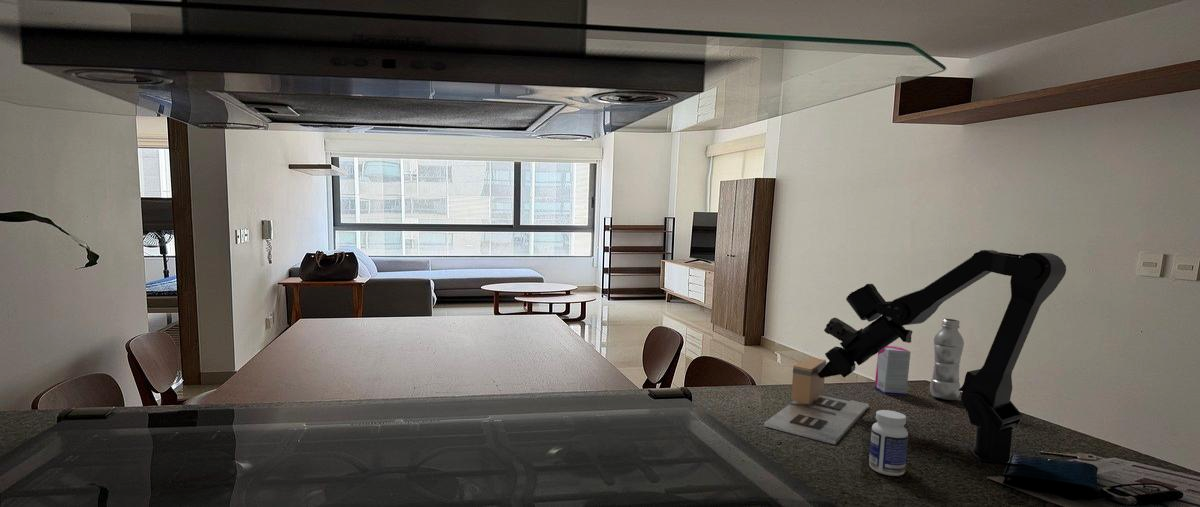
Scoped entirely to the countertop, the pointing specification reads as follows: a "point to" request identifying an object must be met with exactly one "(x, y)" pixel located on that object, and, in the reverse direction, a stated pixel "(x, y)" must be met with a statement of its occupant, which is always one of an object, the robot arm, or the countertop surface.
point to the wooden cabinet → (807, 380)
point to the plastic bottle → (947, 361)
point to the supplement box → (892, 370)
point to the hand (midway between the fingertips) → (819, 376)
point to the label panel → (818, 418)
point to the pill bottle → (889, 443)
